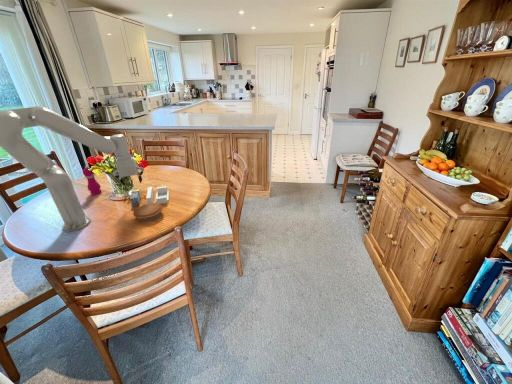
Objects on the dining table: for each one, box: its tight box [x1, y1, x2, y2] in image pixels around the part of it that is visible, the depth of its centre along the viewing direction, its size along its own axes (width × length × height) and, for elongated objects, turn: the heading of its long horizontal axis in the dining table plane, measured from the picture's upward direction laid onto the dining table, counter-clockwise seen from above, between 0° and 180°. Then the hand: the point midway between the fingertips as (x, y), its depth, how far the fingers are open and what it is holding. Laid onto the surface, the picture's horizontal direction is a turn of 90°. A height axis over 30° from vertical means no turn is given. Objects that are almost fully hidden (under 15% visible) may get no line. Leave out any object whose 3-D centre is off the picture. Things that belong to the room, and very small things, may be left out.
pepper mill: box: [82, 165, 103, 196], centre depth 156 cm, size 7×7×20 cm
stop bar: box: [129, 189, 142, 207], centre depth 148 cm, size 11×4×6 cm, turn 18°
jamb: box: [145, 185, 170, 205], centre depth 151 cm, size 17×12×5 cm
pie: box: [132, 202, 164, 222], centre depth 133 cm, size 16×16×5 cm
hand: (132, 183), depth 143 cm, fingers open, 9 cm apart
